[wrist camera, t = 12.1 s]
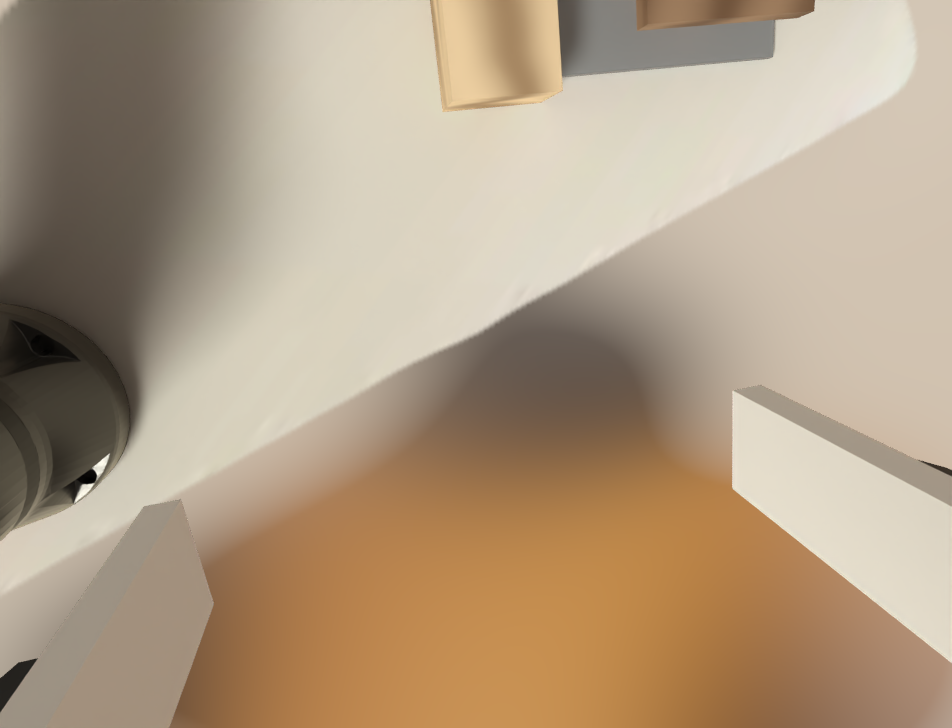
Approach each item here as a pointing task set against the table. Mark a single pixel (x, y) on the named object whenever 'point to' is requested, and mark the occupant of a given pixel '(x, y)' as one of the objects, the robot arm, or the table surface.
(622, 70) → the placemat
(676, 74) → the table surface
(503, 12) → the light wooden block
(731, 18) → the board
